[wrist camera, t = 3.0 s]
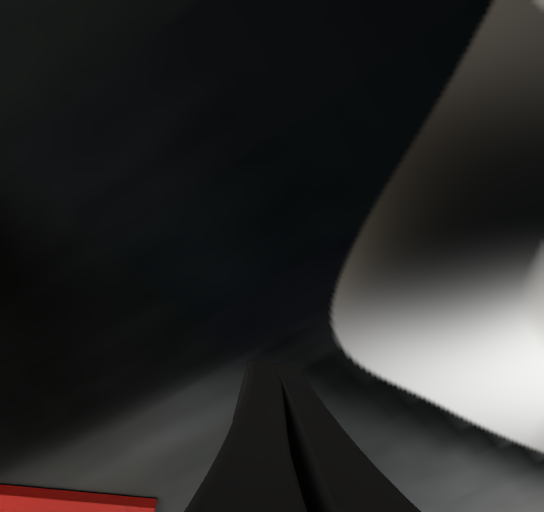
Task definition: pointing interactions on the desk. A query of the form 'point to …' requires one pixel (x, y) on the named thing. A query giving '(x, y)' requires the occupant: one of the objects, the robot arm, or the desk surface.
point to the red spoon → (68, 501)
